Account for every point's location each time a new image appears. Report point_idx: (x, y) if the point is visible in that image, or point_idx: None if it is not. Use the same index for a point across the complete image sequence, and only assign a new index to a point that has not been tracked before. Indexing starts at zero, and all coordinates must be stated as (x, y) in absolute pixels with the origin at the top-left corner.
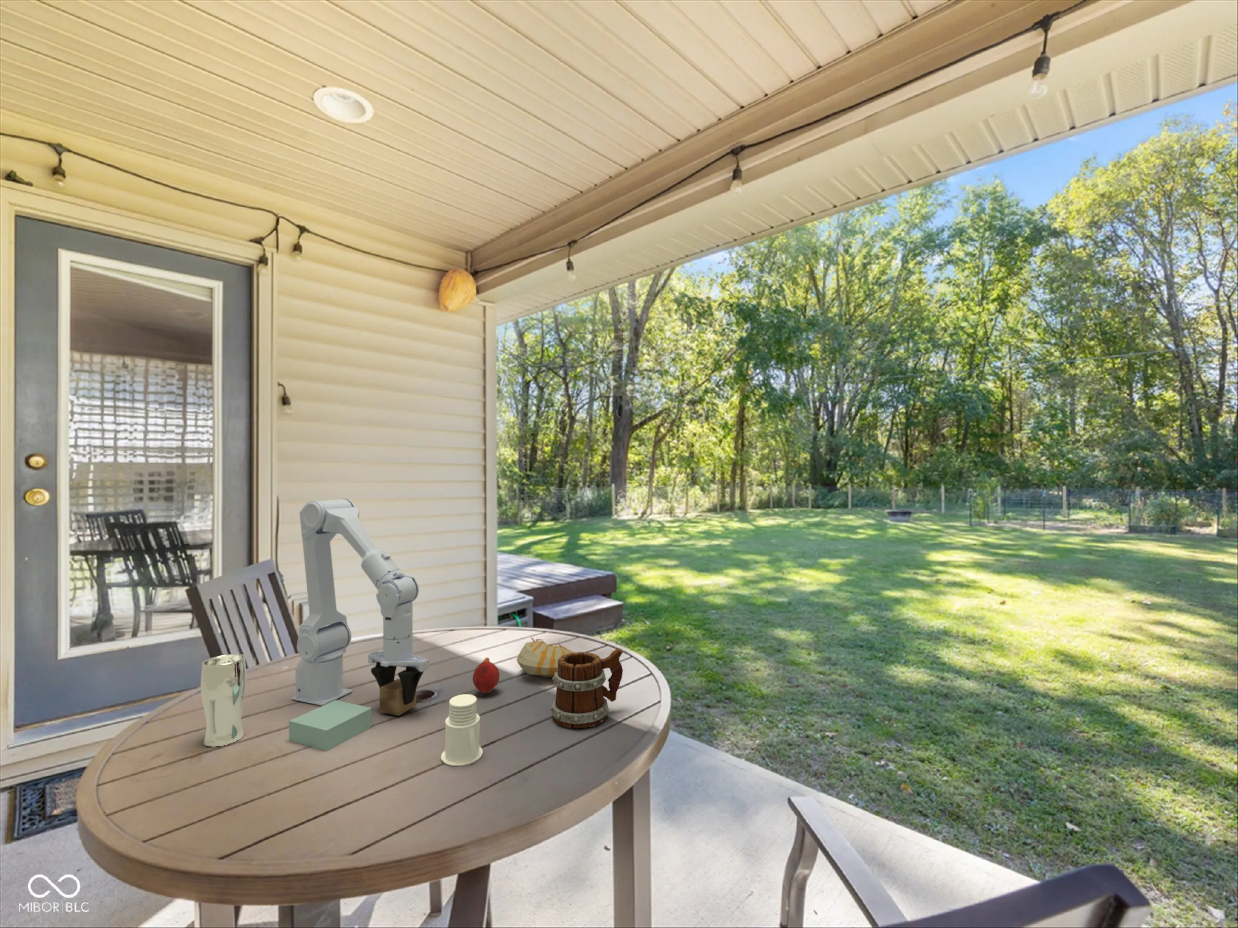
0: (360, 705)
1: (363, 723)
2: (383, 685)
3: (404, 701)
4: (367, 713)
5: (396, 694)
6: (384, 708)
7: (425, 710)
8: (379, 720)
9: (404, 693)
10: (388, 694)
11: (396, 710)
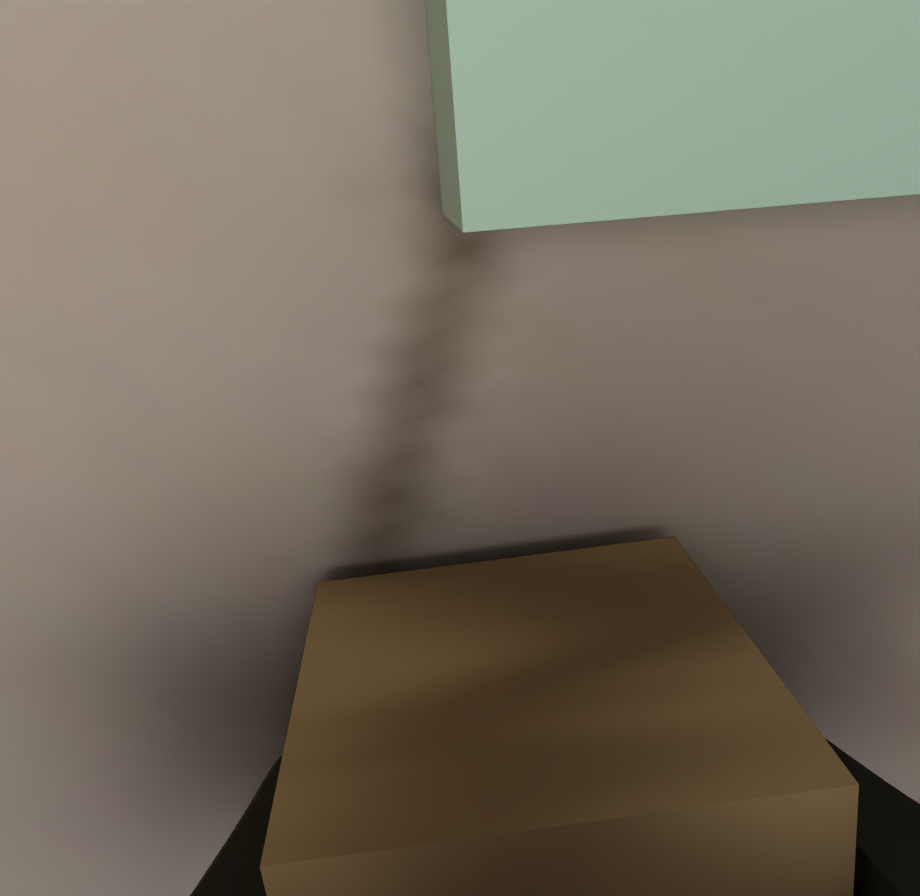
0: (803, 198)
1: (433, 21)
2: (868, 884)
3: None
4: (449, 110)
5: (338, 787)
6: (598, 576)
7: (206, 851)
8: (506, 397)
9: (234, 888)
10: (554, 733)
11: (352, 609)
